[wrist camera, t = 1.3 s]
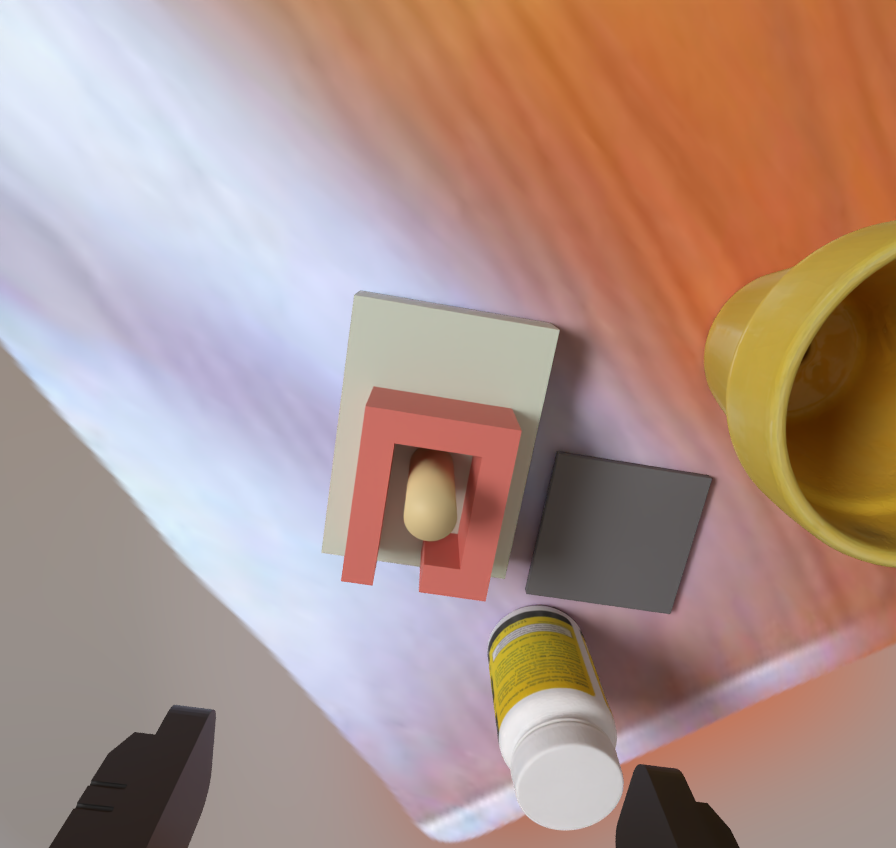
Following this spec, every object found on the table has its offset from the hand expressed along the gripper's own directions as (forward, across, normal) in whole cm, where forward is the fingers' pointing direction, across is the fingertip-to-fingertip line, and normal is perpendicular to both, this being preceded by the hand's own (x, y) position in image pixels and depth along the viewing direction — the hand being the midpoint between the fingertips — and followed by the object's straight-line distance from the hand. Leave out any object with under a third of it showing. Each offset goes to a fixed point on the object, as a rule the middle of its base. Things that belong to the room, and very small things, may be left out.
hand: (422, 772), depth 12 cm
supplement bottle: (+17, -7, +8) cm, 20 cm away
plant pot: (+17, -14, -8) cm, 23 cm away
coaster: (+17, -9, +2) cm, 19 cm away
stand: (+17, 0, -2) cm, 17 cm away
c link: (+15, 0, 0) cm, 15 cm away
